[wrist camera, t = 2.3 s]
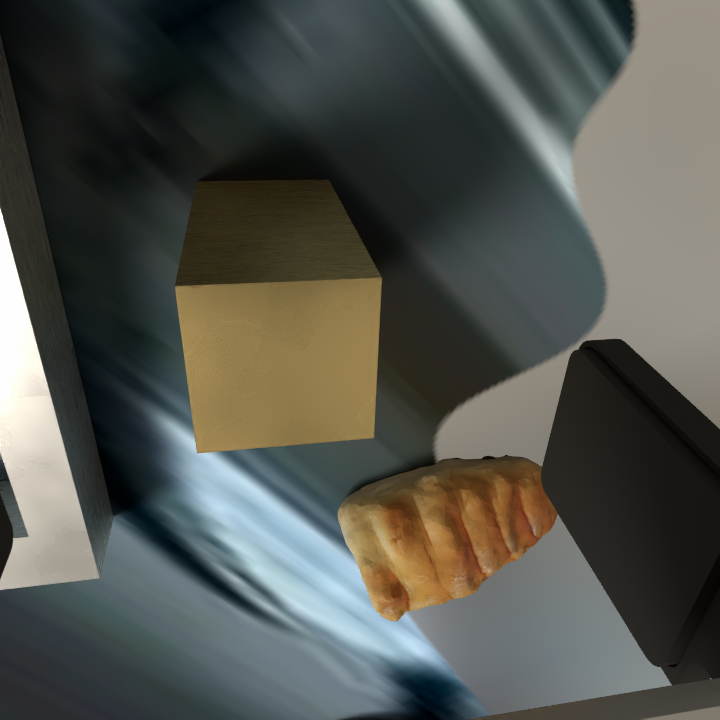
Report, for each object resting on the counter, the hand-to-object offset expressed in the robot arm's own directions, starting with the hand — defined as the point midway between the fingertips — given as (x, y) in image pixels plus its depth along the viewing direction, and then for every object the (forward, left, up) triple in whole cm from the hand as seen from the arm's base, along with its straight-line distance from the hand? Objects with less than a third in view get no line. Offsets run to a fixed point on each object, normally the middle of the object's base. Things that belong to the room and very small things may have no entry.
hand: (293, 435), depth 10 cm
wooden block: (-1, 0, -11) cm, 11 cm away
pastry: (-13, -7, -12) cm, 19 cm away
